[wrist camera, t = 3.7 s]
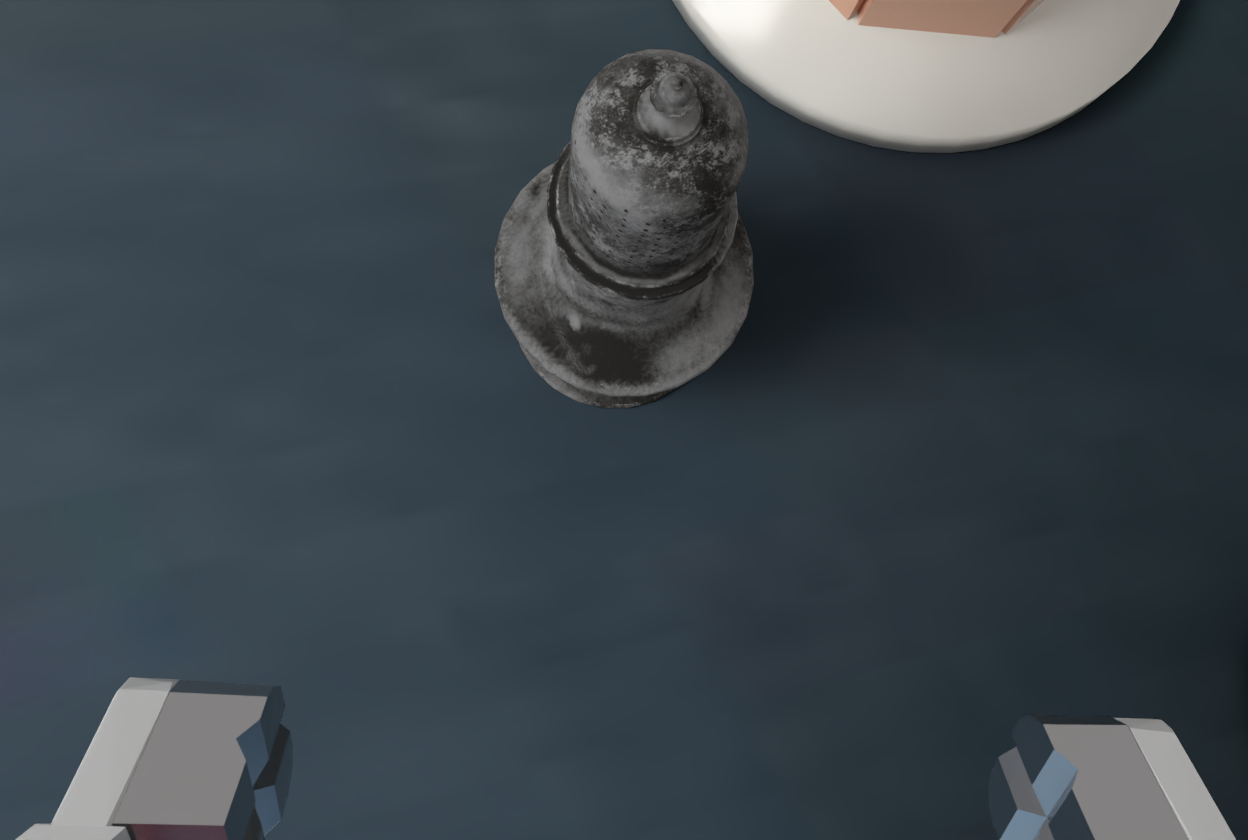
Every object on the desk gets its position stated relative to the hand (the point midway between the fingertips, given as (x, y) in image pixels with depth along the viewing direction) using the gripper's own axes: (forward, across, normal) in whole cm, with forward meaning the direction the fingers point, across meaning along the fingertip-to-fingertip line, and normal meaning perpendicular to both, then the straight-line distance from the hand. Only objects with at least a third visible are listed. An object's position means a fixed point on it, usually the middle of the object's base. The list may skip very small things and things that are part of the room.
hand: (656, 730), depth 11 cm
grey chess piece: (+15, 0, +4) cm, 16 cm away
